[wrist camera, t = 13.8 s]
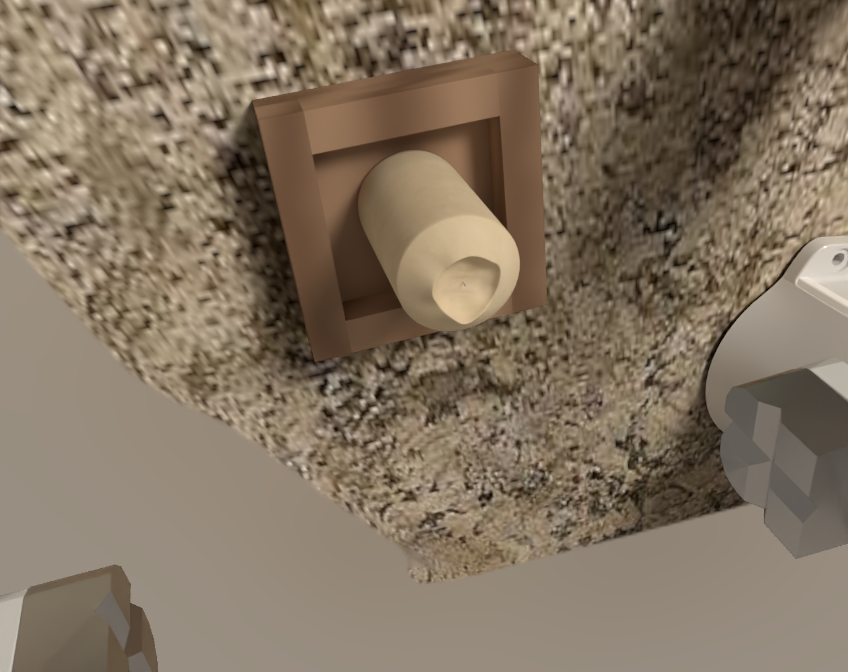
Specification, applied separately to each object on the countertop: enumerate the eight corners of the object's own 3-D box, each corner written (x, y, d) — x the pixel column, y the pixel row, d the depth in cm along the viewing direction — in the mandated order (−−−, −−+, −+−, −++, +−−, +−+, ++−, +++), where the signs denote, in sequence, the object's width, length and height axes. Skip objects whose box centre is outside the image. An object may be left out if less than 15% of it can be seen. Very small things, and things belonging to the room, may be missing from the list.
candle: (449, 252, 44) (515, 350, 35) (349, 246, 42) (394, 347, 34) (470, 153, 41) (547, 233, 33) (364, 142, 39) (417, 224, 31)
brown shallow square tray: (513, 49, 40) (537, 65, 37) (525, 278, 47) (547, 304, 45) (252, 100, 38) (258, 120, 35) (306, 331, 45) (314, 362, 43)
